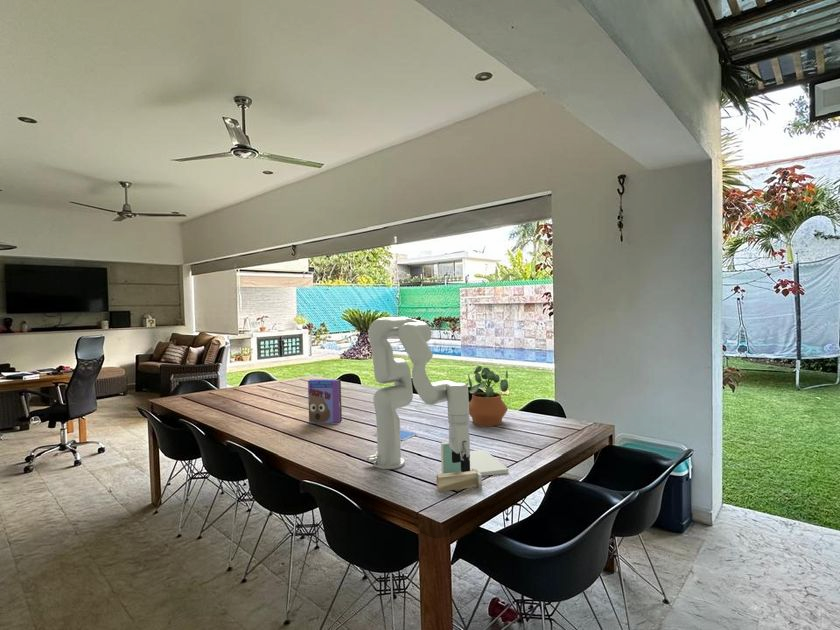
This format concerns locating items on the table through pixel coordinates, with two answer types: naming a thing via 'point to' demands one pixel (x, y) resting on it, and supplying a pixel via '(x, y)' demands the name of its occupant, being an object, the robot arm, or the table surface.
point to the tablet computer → (404, 435)
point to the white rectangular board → (486, 463)
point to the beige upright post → (459, 480)
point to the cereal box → (324, 401)
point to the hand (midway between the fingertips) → (460, 466)
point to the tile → (448, 459)
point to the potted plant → (487, 399)
